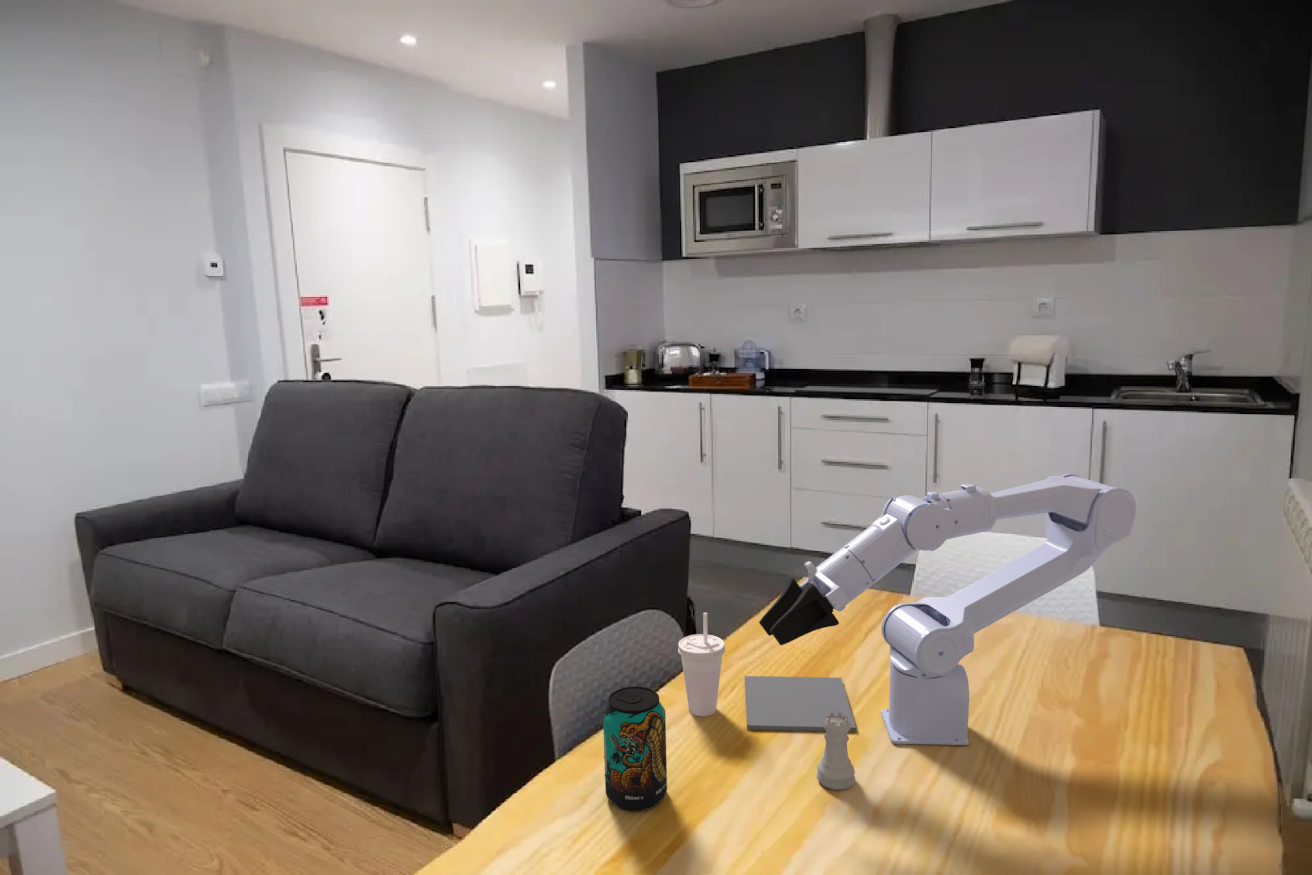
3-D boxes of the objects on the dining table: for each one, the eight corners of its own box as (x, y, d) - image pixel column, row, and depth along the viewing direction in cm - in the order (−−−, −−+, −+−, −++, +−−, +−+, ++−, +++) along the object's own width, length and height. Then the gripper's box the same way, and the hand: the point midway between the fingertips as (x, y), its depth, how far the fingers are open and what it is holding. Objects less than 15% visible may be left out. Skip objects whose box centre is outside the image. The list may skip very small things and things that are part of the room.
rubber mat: (841, 681, 121) (841, 677, 121) (855, 731, 107) (855, 727, 107) (744, 679, 122) (744, 675, 122) (747, 729, 108) (747, 725, 108)
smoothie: (722, 723, 110) (721, 623, 108) (675, 719, 111) (673, 620, 109) (728, 699, 116) (727, 605, 114) (683, 696, 117) (681, 602, 115)
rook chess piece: (811, 771, 99) (812, 709, 97) (848, 768, 99) (849, 706, 98) (822, 793, 94) (823, 728, 93) (860, 790, 95) (862, 726, 93)
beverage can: (645, 821, 90) (642, 719, 88) (593, 802, 94) (589, 703, 91) (678, 788, 96) (676, 692, 94) (628, 771, 99) (625, 678, 97)
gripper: (823, 537, 109) (741, 600, 108) (854, 541, 94) (759, 613, 93) (855, 581, 108) (773, 644, 107) (891, 591, 94) (797, 664, 93)
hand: (769, 633), depth 100 cm, fingers open, 7 cm apart
